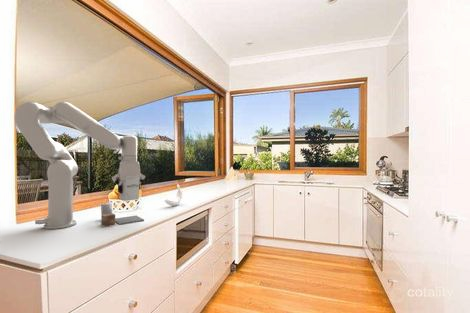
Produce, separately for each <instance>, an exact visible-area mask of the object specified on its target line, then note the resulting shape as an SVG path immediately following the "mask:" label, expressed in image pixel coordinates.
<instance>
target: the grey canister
mask: <svg viewBox="0 0 470 313" xmlns="http://www.w3.org/2000/svg"><path fill="white" fill-rule="evenodd" d="M112 204H113V203H112V202H105V203H101V204H100V210H101V211H100V212H101V214H100V216H102V214H108V213H113V207H112V206H113V205H112Z"/></svg>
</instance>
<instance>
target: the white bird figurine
mask: <svg viewBox="0 0 470 313" xmlns="http://www.w3.org/2000/svg"><path fill="white" fill-rule="evenodd" d="M176 188H177V193H176V196H175V198H174V199H172V198H169V199H165V200H164V202H165V203H166V205H169V206H173V207H175V206H177V205H179V204H180V203H181V201H182V199H183V190H182V188H181V186H180V184H179V183H177V184H176Z"/></svg>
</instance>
